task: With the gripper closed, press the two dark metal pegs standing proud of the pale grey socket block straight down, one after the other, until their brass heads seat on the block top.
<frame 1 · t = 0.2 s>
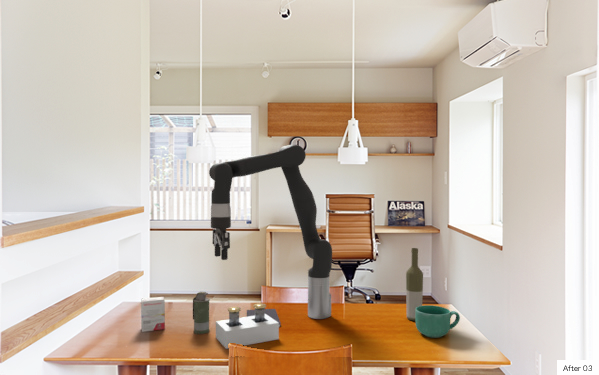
hand: (220, 257, 162), 29 cm above the table, fingers open, 8 cm apart
mug: (437, 335, 162), on the table
bottle: (414, 319, 180), on the table
peg 1: (234, 317, 154), point 8 cm above the table, slide at 0.0 cm
socket block: (247, 338, 156), on the table
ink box: (152, 329, 166), on the table
peg 2: (259, 313, 159), point 8 cm above the table, slide at 0.0 cm
notebook: (262, 320, 179), on the table
grenade: (201, 331, 163), on the table
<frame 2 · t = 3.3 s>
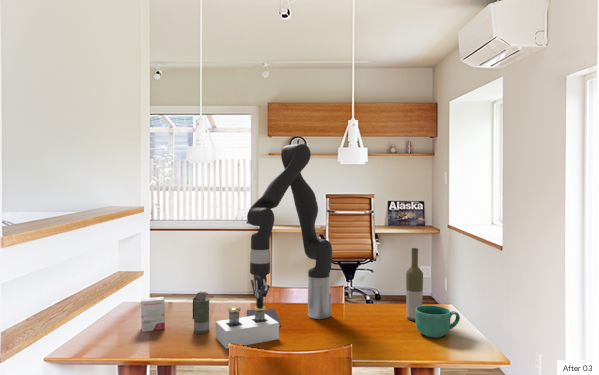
hand: (259, 307, 158), 11 cm above the table, fingers closed
peg 2: (259, 315, 159), point 8 cm above the table, slide at 0.8 cm, touching gripper
everything else where it was.
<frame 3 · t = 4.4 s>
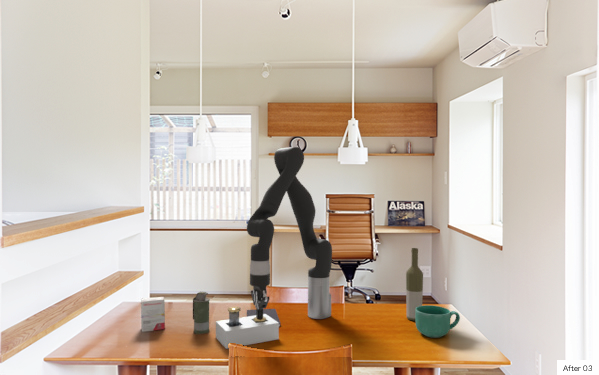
hand: (259, 318, 159), 7 cm above the table, fingers closed
peg 2: (259, 326, 159), point 3 cm above the table, slide at 5.0 cm, touching gripper
everything else where it was.
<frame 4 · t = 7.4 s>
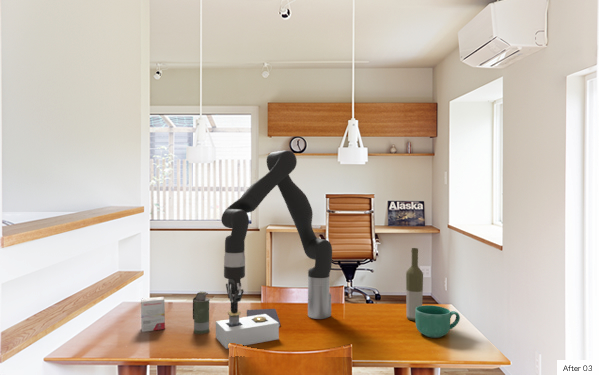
hand: (234, 312, 154), 10 cm above the table, fingers closed
peg 1: (234, 320, 154), point 7 cm above the table, slide at 1.3 cm, touching gripper
peg 2: (259, 326, 159), point 3 cm above the table, slide at 5.0 cm
everything else where it was.
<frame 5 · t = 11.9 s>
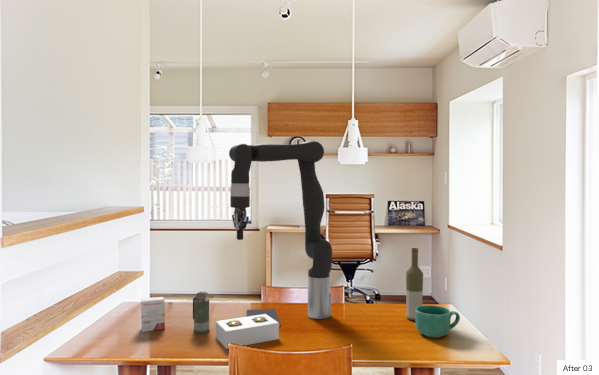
hand: (239, 239, 166), 35 cm above the table, fingers closed
peg 1: (234, 331, 154), point 3 cm above the table, slide at 5.0 cm
everything else where it was.
at the end: peg 2 slide at 5.0 cm; peg 1 slide at 5.0 cm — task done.
